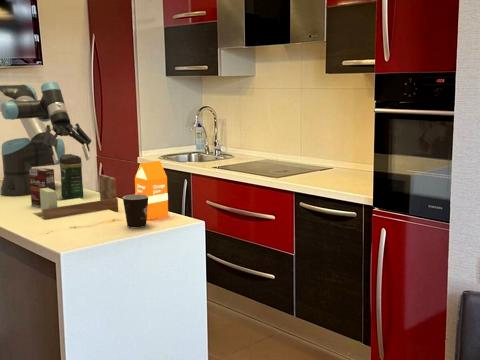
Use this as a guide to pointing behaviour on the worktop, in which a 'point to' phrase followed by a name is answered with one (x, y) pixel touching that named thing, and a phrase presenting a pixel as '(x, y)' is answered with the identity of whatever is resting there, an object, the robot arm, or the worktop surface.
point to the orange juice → (153, 188)
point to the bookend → (48, 198)
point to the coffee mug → (136, 209)
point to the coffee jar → (71, 177)
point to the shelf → (106, 202)
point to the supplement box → (40, 183)
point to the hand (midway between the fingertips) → (72, 160)
